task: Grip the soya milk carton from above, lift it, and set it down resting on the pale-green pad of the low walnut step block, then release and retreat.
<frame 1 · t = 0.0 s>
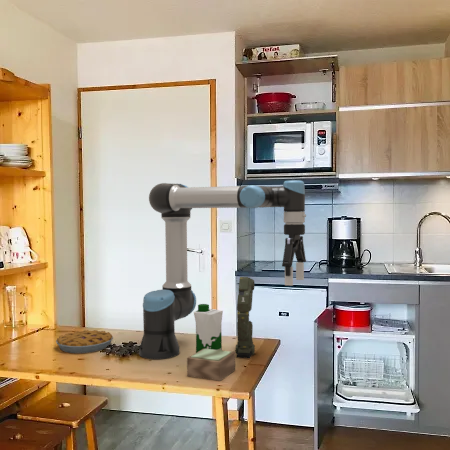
hand: (294, 282, 185), 28 cm above the table, tool pointing down, fingers open, 13 cm apart
pie: (85, 347, 205), on the table
soya milk: (209, 360, 185), on the table
step block: (211, 372, 172), on the table
mechanical leg: (245, 353, 194), on the table
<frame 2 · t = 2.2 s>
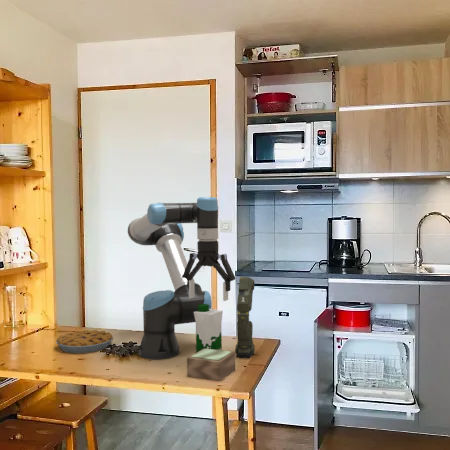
hand: (208, 299, 184), 22 cm above the table, tool pointing down, fingers open, 13 cm apart
nothing on the table moved.
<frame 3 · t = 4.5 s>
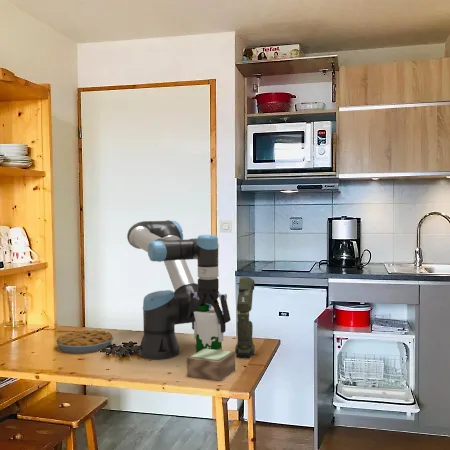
hand: (208, 339, 185), 8 cm above the table, tool pointing down, fingers closed on soya milk, 9 cm apart
soya milk: (208, 360, 185), on the table, touching gripper
everything else where it was.
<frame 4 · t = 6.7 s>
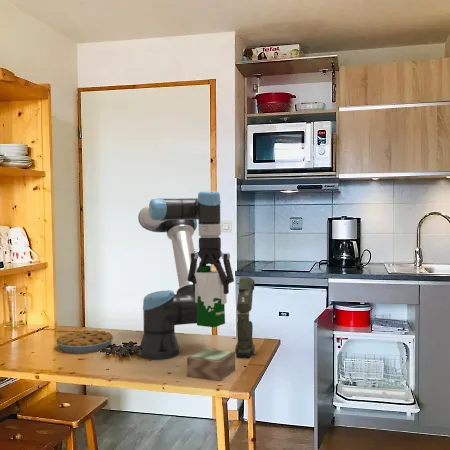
hand: (210, 302, 174), 23 cm above the table, tool pointing down, fingers closed on soya milk, 9 cm apart
soya milk: (211, 325, 175), point 15 cm above the table, touching gripper
everything else where it was.
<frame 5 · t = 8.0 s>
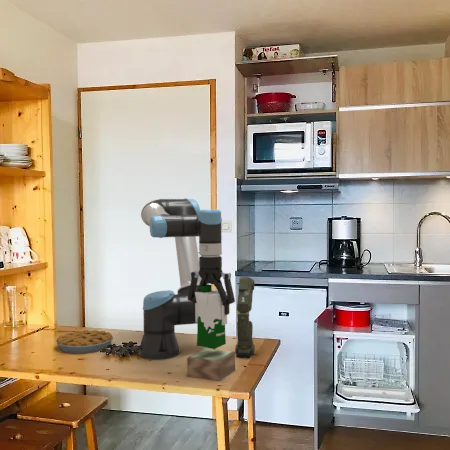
hand: (211, 323, 171), 17 cm above the table, tool pointing down, fingers closed on soya milk, 9 cm apart
soya milk: (211, 345, 171), point 9 cm above the table, touching gripper
everything else where it was.
when the fingers open (15 cm above the table, at t = 9.2 s): soya milk drops 1 cm, resting on step block.
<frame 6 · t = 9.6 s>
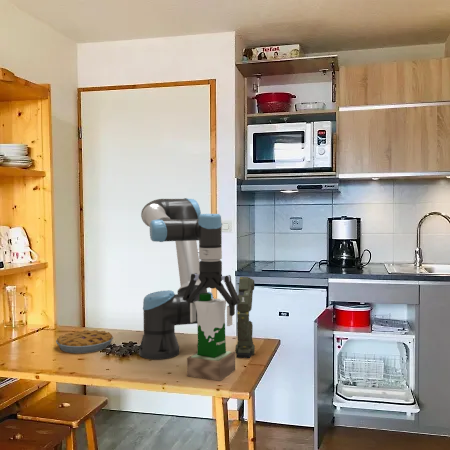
hand: (211, 323, 171), 17 cm above the table, tool pointing down, fingers open, 13 cm apart
soya milk: (211, 354, 171), point 6 cm above the table, touching step block
everything else where it was.
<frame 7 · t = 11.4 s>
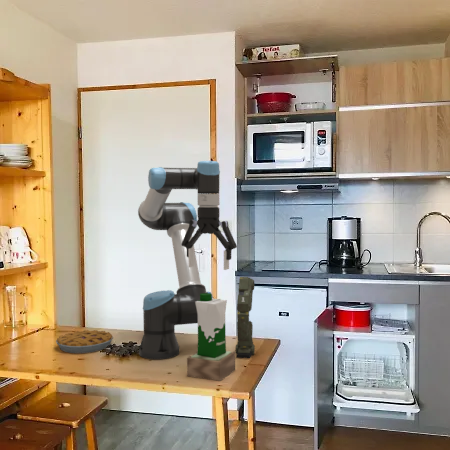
hand: (208, 268, 177), 34 cm above the table, tool pointing down, fingers open, 13 cm apart
nothing on the table moved.
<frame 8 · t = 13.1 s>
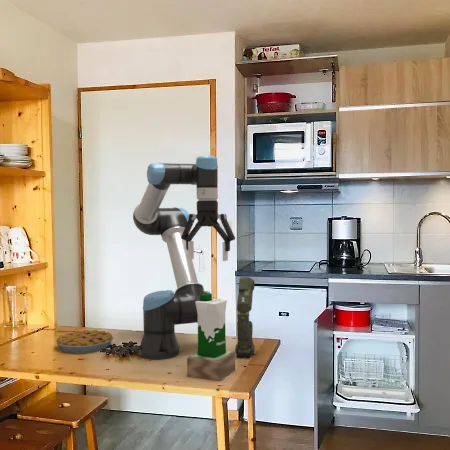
hand: (207, 260, 182), 37 cm above the table, tool pointing down, fingers open, 13 cm apart
nothing on the table moved.
at the end: soya milk 0.1 cm from the step block (horizontally); soya milk touching step block; soya milk tilted 0° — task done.
